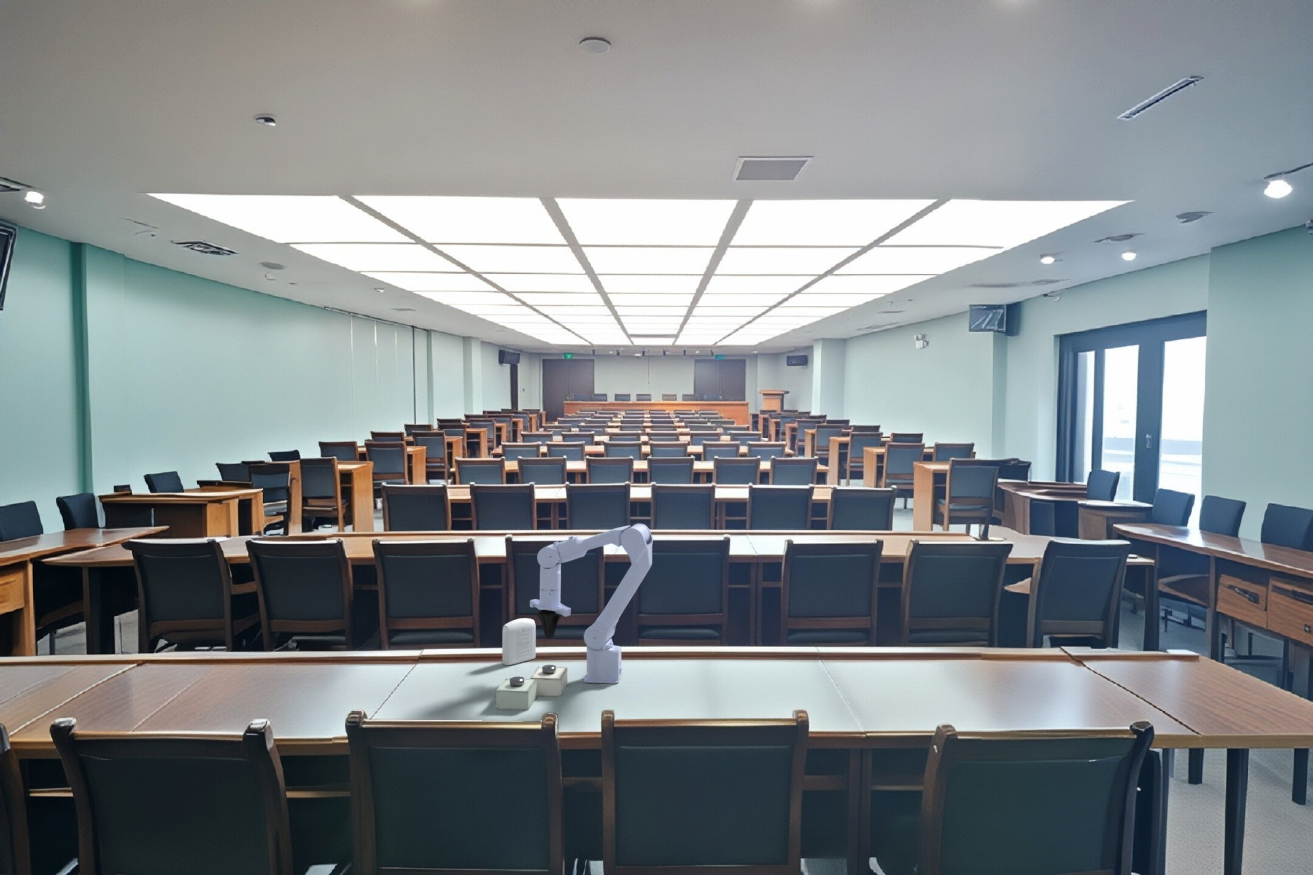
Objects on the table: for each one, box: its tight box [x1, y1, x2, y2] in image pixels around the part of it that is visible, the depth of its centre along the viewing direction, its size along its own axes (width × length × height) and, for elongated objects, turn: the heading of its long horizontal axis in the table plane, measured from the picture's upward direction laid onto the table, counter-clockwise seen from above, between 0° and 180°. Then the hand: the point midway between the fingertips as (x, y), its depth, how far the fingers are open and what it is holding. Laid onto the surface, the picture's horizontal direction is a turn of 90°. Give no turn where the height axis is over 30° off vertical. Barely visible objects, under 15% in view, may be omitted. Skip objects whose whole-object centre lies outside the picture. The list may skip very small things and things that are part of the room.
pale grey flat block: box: [495, 678, 538, 711], centre depth 172 cm, size 8×8×4 cm
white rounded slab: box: [501, 617, 537, 666], centre depth 202 cm, size 10×4×12 cm, turn 134°
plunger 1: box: [509, 676, 525, 687], centre depth 172 cm, size 5×5×5 cm
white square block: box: [529, 666, 568, 697], centre depth 180 cm, size 8×8×4 cm
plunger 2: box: [541, 664, 557, 674], centre depth 180 cm, size 5×5×5 cm
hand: (549, 636), depth 191 cm, fingers closed
